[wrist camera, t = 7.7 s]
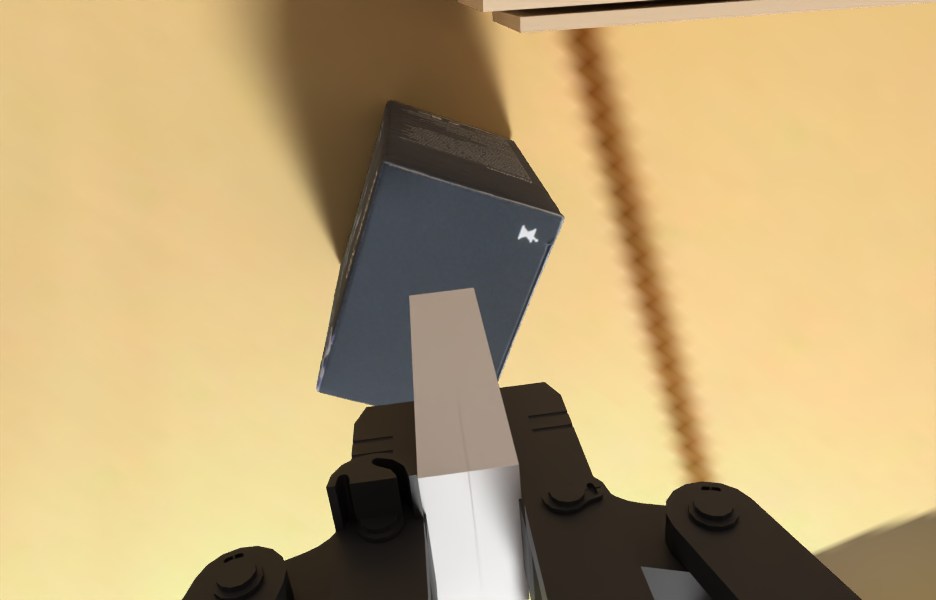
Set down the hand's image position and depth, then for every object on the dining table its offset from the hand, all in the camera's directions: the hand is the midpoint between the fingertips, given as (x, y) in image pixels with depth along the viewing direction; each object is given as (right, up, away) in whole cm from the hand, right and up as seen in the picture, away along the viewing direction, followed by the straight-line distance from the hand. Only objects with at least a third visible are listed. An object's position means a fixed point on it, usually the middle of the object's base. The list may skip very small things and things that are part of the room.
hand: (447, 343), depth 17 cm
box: (-1, +5, +14) cm, 15 cm away
